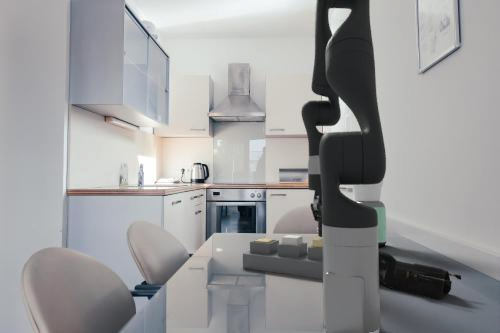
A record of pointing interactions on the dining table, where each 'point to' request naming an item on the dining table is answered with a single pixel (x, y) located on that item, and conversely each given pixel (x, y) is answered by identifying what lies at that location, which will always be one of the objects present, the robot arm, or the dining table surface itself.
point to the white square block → (292, 240)
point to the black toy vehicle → (414, 277)
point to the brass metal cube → (317, 242)
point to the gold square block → (264, 240)
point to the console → (285, 259)
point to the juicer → (371, 198)
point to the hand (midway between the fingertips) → (323, 236)
